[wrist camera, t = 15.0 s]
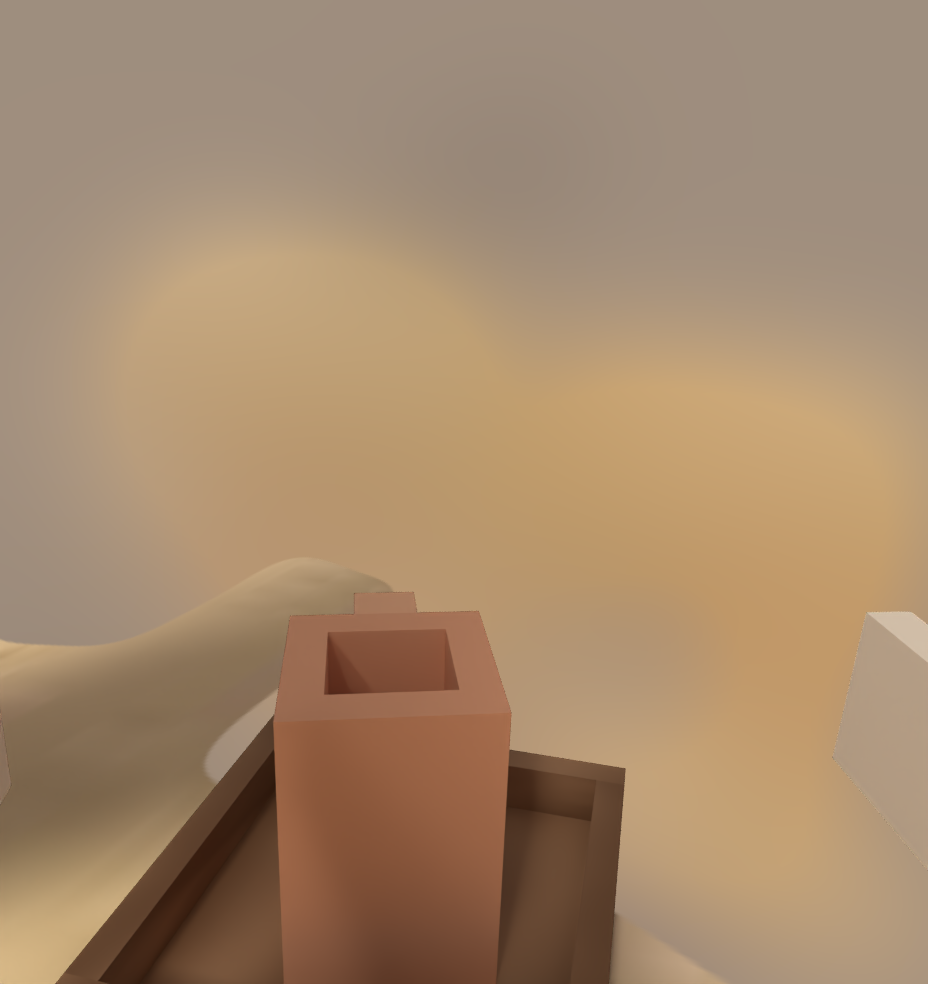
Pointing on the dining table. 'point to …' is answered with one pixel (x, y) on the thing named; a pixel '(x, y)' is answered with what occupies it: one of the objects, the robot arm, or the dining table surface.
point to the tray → (256, 883)
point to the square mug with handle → (390, 796)
